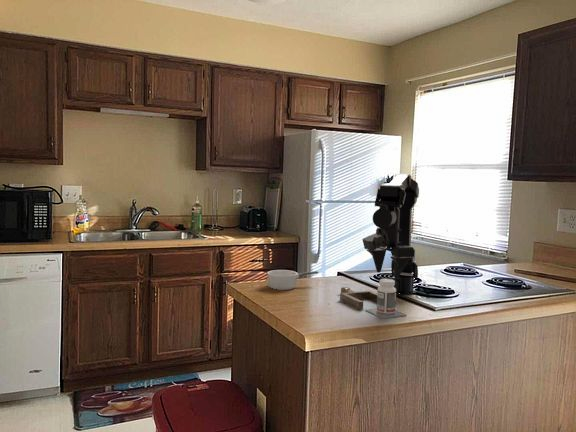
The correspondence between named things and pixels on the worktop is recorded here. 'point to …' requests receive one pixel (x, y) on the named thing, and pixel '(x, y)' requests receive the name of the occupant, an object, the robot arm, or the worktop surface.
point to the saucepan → (284, 279)
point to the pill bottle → (386, 296)
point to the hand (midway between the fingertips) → (387, 275)
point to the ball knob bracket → (356, 297)
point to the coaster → (383, 316)
